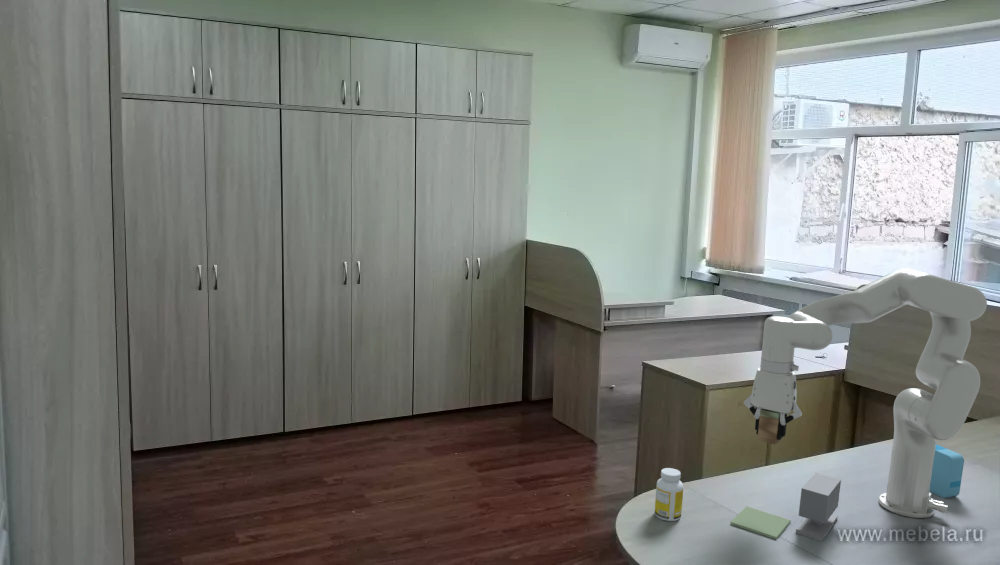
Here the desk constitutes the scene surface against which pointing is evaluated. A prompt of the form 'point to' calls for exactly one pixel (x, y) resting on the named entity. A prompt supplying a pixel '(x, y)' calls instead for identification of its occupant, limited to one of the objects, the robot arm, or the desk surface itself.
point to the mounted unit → (818, 506)
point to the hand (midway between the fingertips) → (769, 435)
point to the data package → (946, 472)
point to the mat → (761, 522)
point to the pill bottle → (669, 495)
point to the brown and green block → (768, 426)
